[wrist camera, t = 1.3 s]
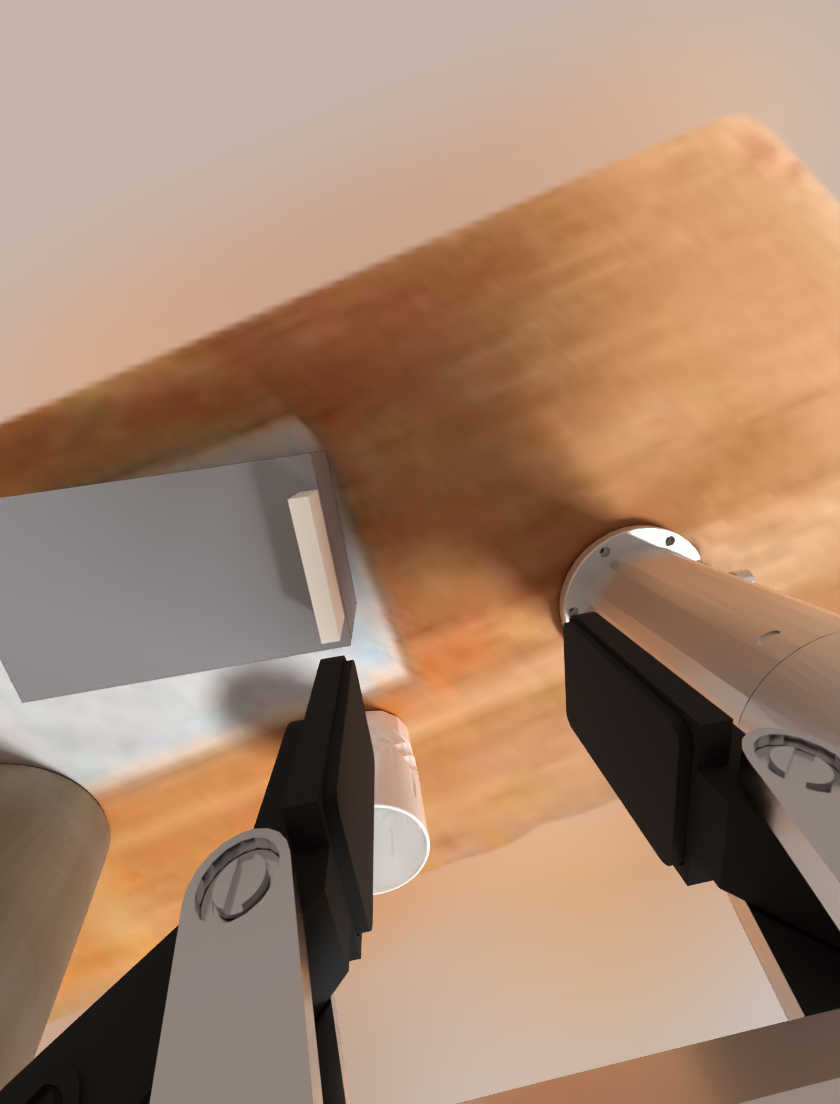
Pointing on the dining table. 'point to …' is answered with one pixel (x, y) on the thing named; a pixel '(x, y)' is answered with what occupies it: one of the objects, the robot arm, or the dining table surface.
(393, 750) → the white cup
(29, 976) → the plant pot
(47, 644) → the mailer lid
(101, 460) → the dining table surface
